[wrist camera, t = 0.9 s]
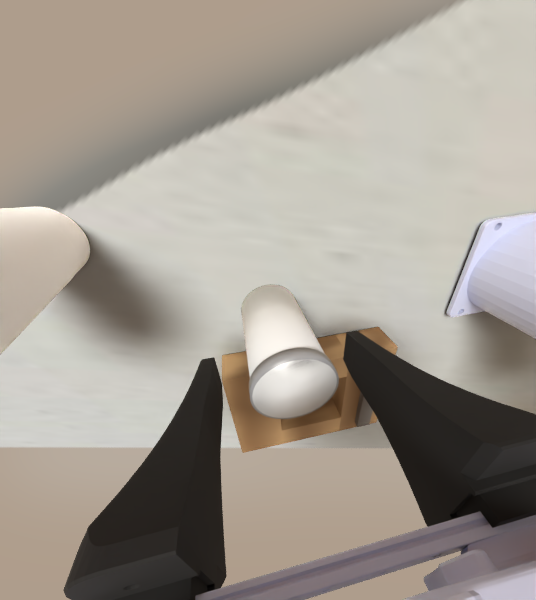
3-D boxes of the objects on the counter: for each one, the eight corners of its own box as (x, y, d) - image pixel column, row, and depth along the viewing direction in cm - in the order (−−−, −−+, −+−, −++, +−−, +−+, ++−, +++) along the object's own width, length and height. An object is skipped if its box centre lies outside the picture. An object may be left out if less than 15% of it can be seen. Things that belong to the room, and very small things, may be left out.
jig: (378, 326, 19) (402, 351, 17) (362, 399, 24) (379, 427, 22) (222, 355, 18) (222, 387, 15) (240, 426, 23) (243, 458, 20)
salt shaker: (297, 278, 16) (342, 349, 10) (297, 327, 18) (335, 409, 12) (235, 288, 15) (243, 368, 9) (244, 336, 17) (255, 426, 11)
